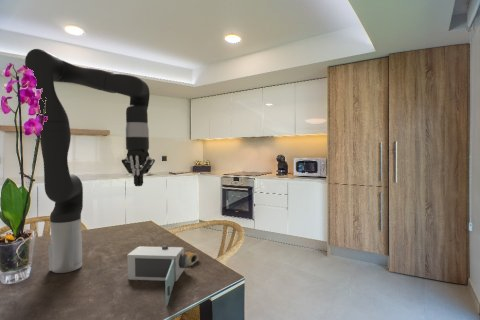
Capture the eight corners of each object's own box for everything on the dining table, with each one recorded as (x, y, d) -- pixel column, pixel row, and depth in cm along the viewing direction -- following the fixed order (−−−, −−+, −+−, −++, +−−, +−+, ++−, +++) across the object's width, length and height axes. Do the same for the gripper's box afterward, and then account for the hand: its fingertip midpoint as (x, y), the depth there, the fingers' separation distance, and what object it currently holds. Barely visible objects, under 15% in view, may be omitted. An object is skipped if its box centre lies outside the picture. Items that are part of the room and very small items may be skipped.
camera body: (127, 279, 92) (127, 252, 91) (139, 269, 100) (138, 244, 99) (182, 281, 90) (181, 253, 90) (189, 270, 98) (188, 245, 98)
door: (169, 305, 75) (169, 278, 75) (164, 305, 75) (164, 279, 75) (176, 279, 90) (176, 257, 90) (172, 279, 90) (172, 257, 90)
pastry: (169, 262, 106) (168, 252, 105) (181, 257, 111) (181, 247, 111) (189, 267, 101) (189, 257, 101) (200, 261, 107) (200, 251, 107)
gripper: (160, 136, 100) (161, 185, 101) (129, 137, 105) (131, 184, 106) (145, 135, 93) (147, 188, 94) (114, 136, 98) (115, 186, 99)
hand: (138, 185), depth 100 cm, fingers closed
